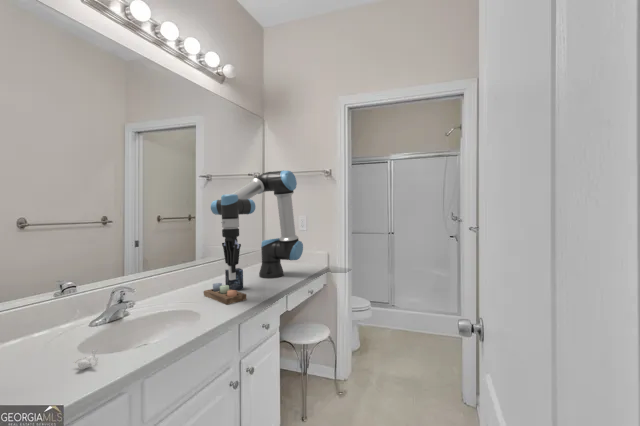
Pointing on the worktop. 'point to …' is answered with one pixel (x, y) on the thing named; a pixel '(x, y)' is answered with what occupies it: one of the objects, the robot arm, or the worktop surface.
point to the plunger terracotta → (232, 293)
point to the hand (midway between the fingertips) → (232, 279)
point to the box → (236, 283)
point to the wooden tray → (224, 296)
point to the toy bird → (87, 361)
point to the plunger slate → (216, 287)
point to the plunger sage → (224, 289)
